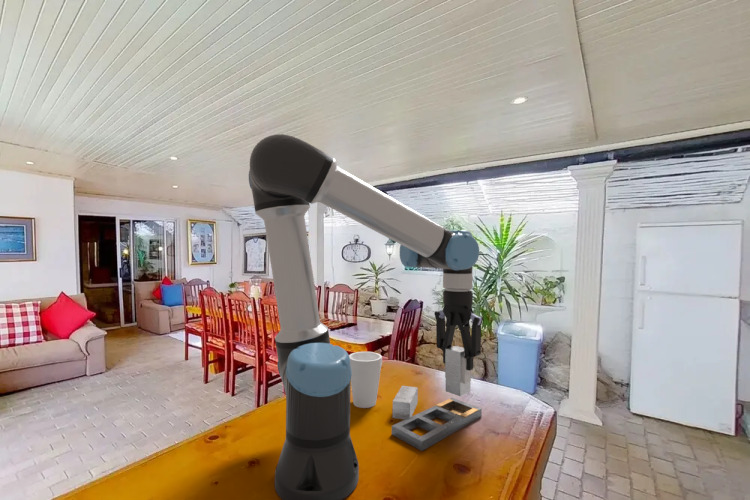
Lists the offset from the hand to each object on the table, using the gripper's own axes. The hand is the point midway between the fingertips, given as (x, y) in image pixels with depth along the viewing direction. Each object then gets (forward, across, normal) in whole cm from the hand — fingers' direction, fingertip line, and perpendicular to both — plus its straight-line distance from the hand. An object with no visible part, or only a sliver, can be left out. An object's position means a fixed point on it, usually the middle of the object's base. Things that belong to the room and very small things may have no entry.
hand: (457, 379), depth 89 cm
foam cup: (+9, +22, +13) cm, 27 cm away
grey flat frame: (+9, 0, +8) cm, 12 cm away
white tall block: (+3, 0, 0) cm, 3 cm away
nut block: (+9, +11, +8) cm, 17 cm away
